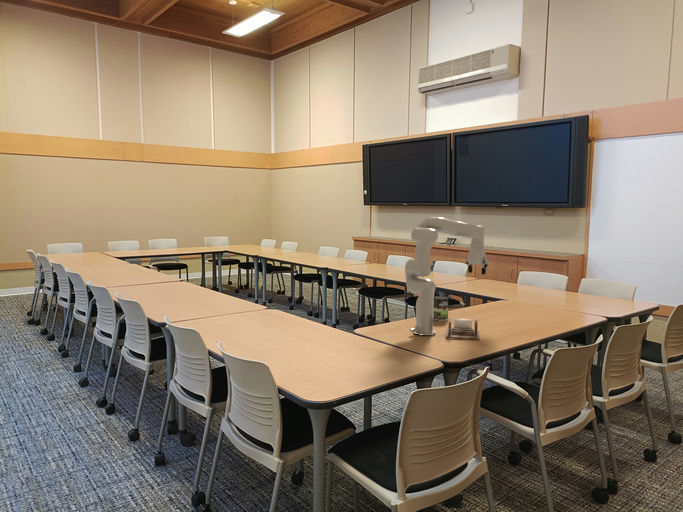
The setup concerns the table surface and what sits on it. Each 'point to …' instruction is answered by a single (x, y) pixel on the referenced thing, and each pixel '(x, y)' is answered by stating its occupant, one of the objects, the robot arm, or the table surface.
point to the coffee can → (440, 308)
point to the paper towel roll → (463, 323)
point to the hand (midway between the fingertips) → (476, 273)
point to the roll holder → (463, 333)
